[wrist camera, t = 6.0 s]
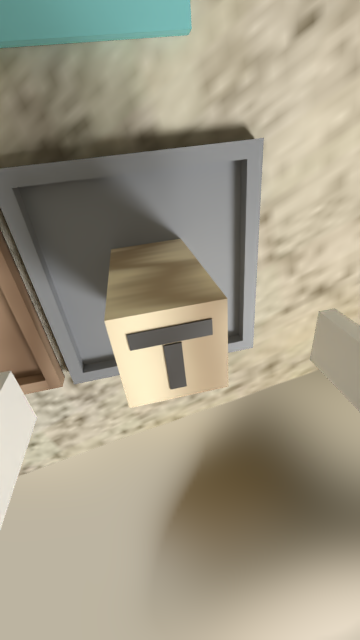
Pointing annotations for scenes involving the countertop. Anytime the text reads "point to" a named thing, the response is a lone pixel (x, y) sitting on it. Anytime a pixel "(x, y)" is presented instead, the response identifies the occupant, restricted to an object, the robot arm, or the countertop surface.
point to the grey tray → (134, 233)
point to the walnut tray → (23, 333)
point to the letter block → (165, 323)
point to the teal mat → (90, 20)
